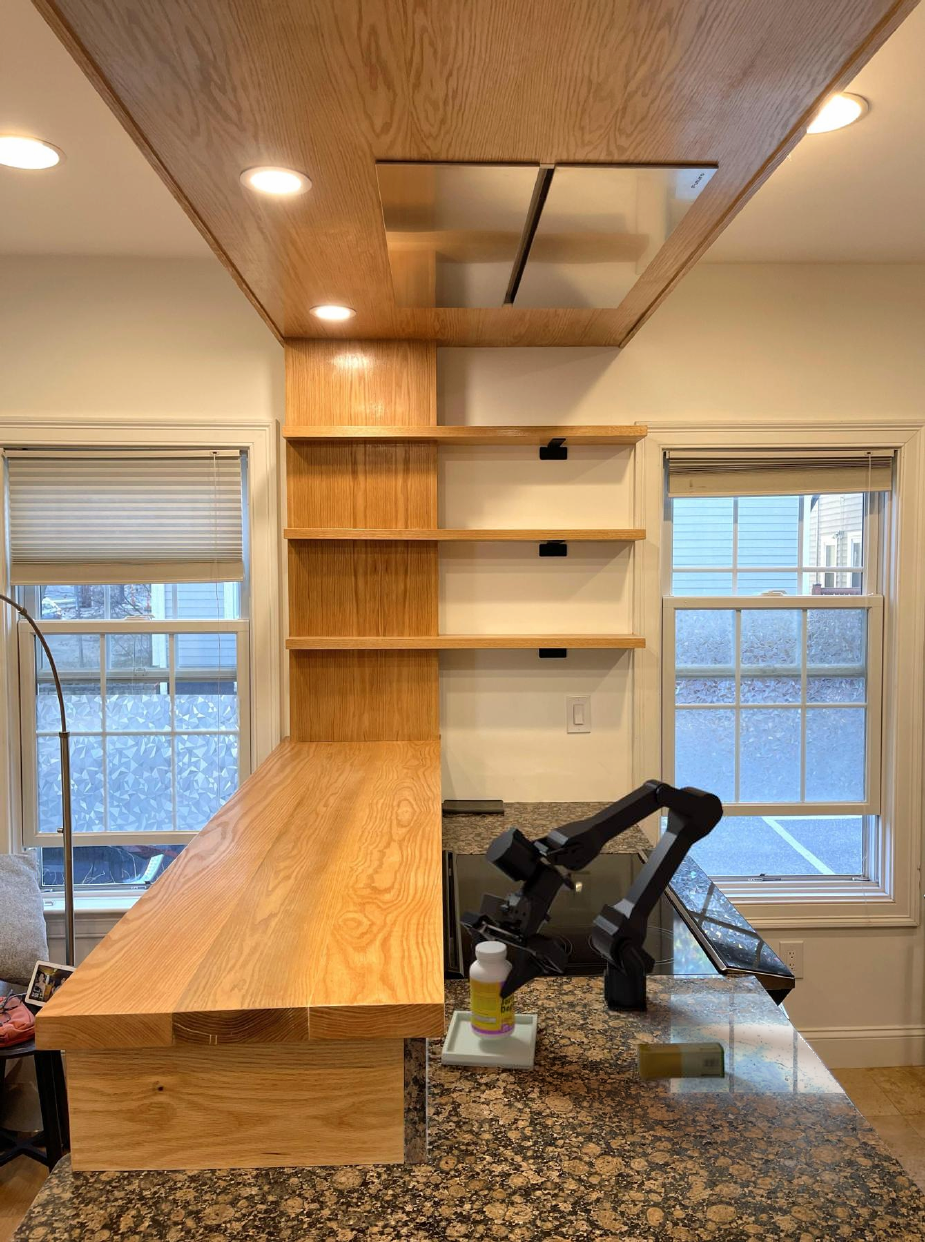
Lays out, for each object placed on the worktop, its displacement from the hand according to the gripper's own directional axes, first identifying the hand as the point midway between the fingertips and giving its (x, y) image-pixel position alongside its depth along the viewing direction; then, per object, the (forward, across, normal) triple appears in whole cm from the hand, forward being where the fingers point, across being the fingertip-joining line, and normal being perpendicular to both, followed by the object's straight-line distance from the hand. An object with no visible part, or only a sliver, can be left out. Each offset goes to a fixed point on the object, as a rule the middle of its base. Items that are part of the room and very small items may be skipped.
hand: (485, 990), depth 130 cm
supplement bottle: (+4, 0, +6) cm, 7 cm away
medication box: (-4, +24, +17) cm, 30 cm away
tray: (+5, 0, +7) cm, 9 cm away
